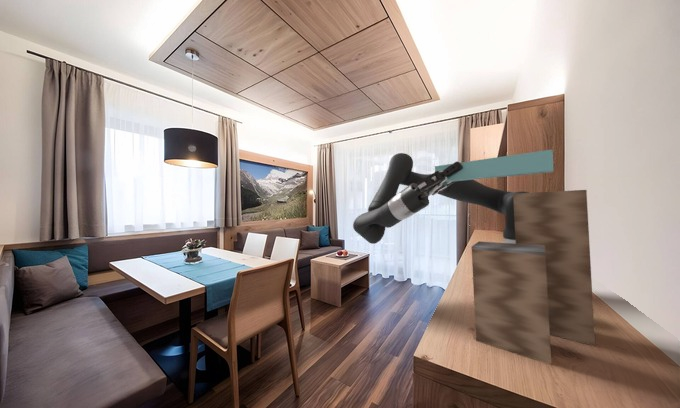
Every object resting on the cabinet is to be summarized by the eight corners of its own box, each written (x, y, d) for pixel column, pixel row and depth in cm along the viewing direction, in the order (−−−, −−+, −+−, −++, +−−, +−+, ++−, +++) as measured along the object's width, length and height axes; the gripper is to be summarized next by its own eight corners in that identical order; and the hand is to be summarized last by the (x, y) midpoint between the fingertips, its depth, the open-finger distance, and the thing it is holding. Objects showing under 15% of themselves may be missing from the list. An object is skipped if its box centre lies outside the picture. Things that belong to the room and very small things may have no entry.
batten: (435, 181, 57) (434, 166, 57) (440, 182, 60) (440, 167, 60) (553, 170, 43) (552, 149, 43) (553, 172, 45) (552, 152, 46)
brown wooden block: (476, 340, 49) (471, 246, 49) (482, 325, 55) (478, 241, 55) (551, 364, 41) (545, 252, 41) (549, 343, 47) (544, 245, 47)
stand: (519, 326, 54) (513, 193, 54) (521, 315, 59) (515, 194, 59) (595, 345, 46) (586, 189, 46) (589, 330, 51) (581, 190, 51)
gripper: (389, 191, 61) (445, 148, 51) (412, 192, 71) (462, 157, 61) (402, 214, 58) (464, 175, 48) (424, 212, 69) (479, 179, 59)
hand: (462, 165), depth 55 cm, fingers closed on batten, 4 cm apart
